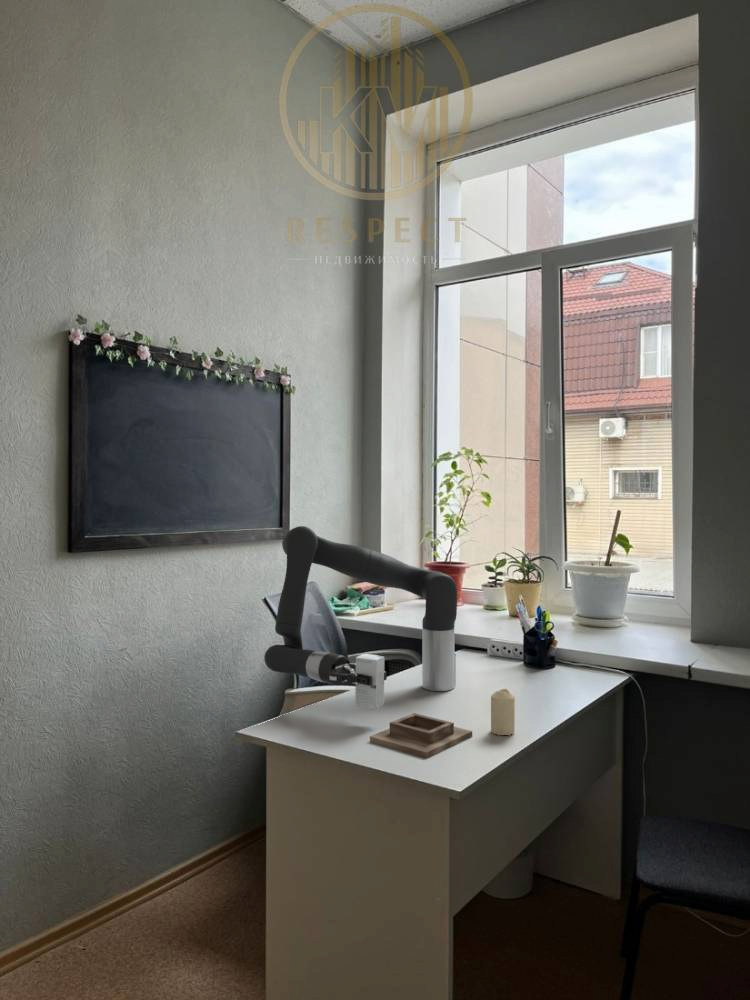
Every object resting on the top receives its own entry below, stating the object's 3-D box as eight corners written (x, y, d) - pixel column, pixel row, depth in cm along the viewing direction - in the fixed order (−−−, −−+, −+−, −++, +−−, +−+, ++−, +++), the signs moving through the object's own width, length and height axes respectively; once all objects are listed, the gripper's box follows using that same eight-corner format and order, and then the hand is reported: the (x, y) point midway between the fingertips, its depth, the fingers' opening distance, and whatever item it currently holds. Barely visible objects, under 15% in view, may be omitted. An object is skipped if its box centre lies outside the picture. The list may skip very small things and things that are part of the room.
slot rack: (417, 722, 181) (417, 707, 181) (472, 736, 171) (472, 720, 171) (369, 741, 168) (369, 725, 168) (426, 758, 157) (426, 740, 157)
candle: (498, 726, 178) (498, 685, 178) (518, 731, 174) (518, 689, 174) (486, 732, 174) (486, 690, 173) (507, 737, 170) (507, 694, 170)
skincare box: (354, 706, 179) (353, 657, 179) (364, 701, 183) (363, 652, 183) (376, 710, 176) (375, 660, 176) (385, 704, 180) (384, 655, 180)
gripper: (307, 658, 183) (359, 669, 172) (346, 647, 194) (396, 657, 183) (308, 688, 183) (359, 701, 172) (346, 676, 194) (397, 687, 183)
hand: (378, 678), depth 178 cm, fingers closed on skincare box, 5 cm apart
